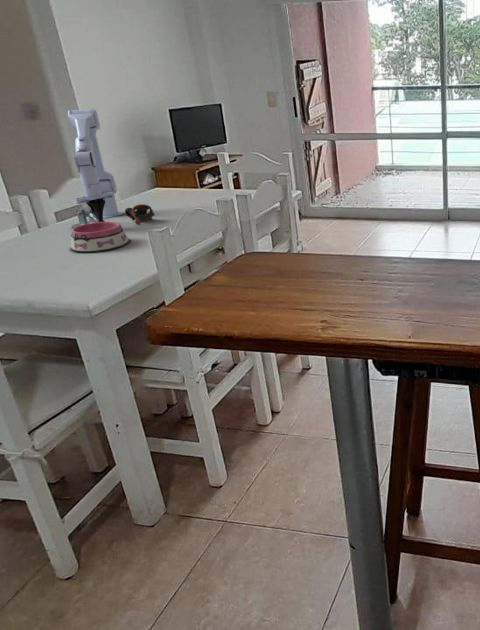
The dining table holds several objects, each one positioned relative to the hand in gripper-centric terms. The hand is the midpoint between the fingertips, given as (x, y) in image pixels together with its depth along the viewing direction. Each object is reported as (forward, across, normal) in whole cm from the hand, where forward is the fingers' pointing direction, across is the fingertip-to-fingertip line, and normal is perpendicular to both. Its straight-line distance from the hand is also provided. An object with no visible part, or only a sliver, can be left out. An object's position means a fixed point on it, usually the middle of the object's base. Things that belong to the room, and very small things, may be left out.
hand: (99, 219), depth 223 cm
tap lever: (+1, 0, +5) cm, 5 cm away
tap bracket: (+4, 0, +10) cm, 10 cm away
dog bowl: (+5, -12, -20) cm, 24 cm away
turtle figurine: (+5, +15, -2) cm, 16 cm away
